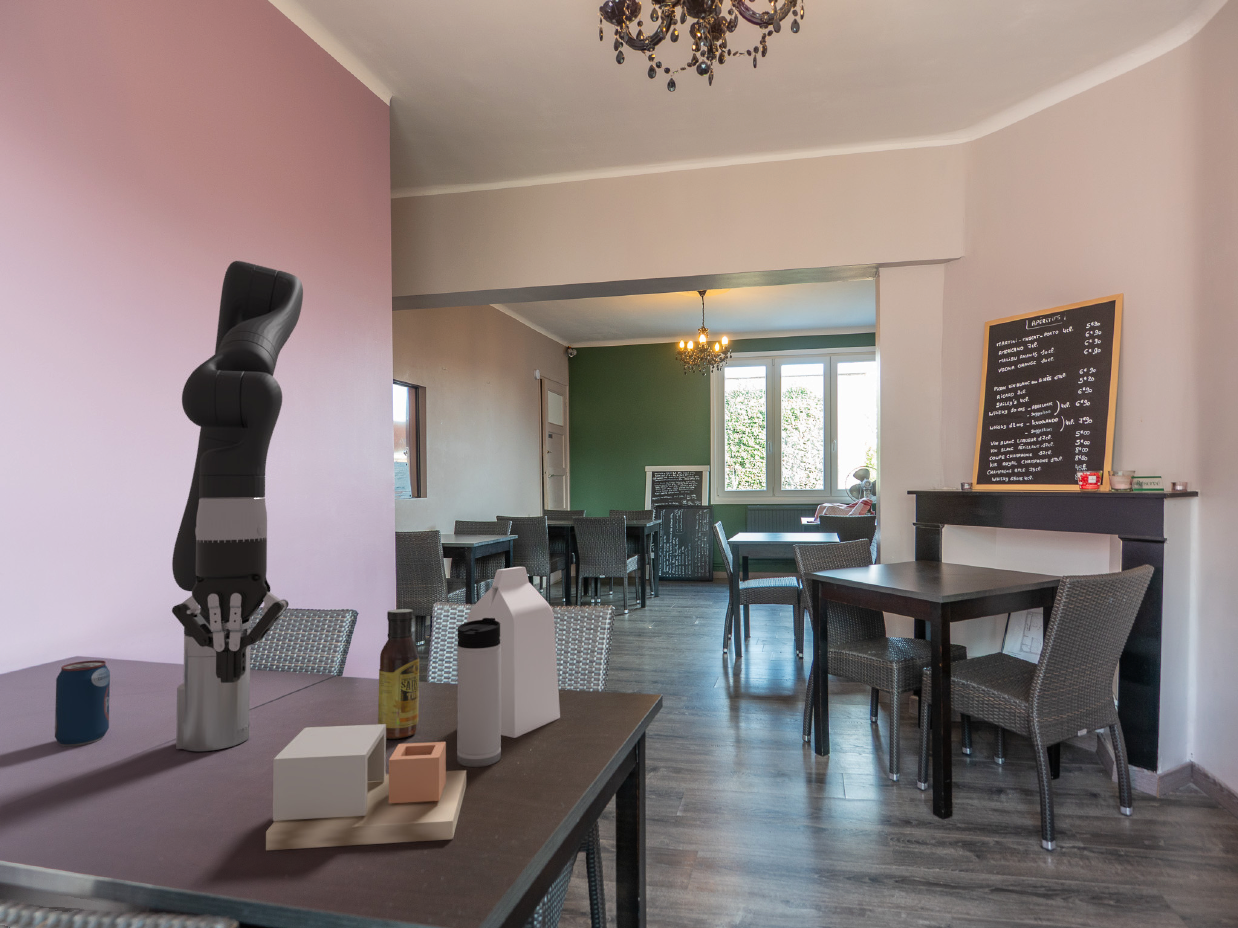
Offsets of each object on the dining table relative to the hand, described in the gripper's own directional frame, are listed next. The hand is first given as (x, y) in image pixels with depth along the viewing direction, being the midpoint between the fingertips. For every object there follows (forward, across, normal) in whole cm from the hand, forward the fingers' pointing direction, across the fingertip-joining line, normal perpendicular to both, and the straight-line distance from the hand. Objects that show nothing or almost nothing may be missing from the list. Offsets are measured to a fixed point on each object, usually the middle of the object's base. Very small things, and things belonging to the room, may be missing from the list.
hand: (230, 680), depth 86 cm
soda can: (+17, +36, -34) cm, 52 cm away
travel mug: (+17, -28, -17) cm, 37 cm away
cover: (+14, -12, 0) cm, 19 cm away
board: (+17, -17, 0) cm, 24 cm away
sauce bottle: (+17, -14, -30) cm, 37 cm away
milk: (+17, -32, -34) cm, 50 cm away
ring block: (+14, -22, 0) cm, 26 cm away
